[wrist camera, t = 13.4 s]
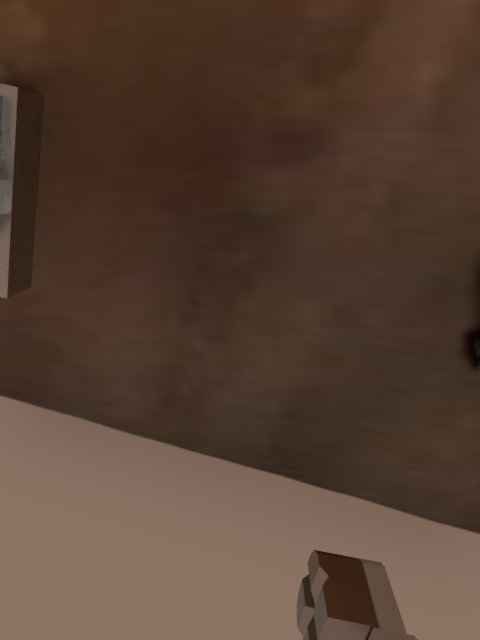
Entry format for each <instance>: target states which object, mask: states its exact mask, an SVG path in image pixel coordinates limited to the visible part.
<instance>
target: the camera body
mask: <svg viewBox="0 0 480 640" xmlns="http://www.w3.org/2000/svg"><path fill="white" fill-rule="evenodd" d="M42 110H43V96H40V95H38V94H35V93H32V92H29V91H27V90H24V89H21V88H18V87H14V86H10V85H5V84H1V83H0V297H2V298H9V297H11V296H13V295H15V294H17V293H19V292H21V291H23V290H25V289H27V288H29V287H31V274H32V259H33V244H34V229H35V214H36V199H37V184H38V170H39V155H40V140H41V125H42Z"/></svg>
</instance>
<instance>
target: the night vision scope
mask: <svg viewBox="0 0 480 640" xmlns="http://www.w3.org/2000/svg"><path fill="white" fill-rule="evenodd" d="M475 350H476V355H477V359H478V360H477V361H476V363H475V365H476V367H477V368H476V369H477V370H480V340H478V339H477V338H476V339H475Z"/></svg>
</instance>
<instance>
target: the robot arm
mask: <svg viewBox="0 0 480 640" xmlns="http://www.w3.org/2000/svg"><path fill="white" fill-rule="evenodd" d="M308 570H309V575H307V576H306V577H304V578H303V579H302V582H301V585H300V589H299V593H298V601H297V626H298V629H299V631H300V632H301V634H302V635H303V637H304V638H303V640H417V639H416V638H415V636H412V635H408V634H407V633H406V630H405V627H404V624H403V621H402V618H401V615H400V612H399V609H398V606H397V603H396V600H395V597H394V594H393V591H392V588H391V585H390V582H389V579H388V576H387V572H386V570H385V567H384V565H383V564H382V563H381V562H376V561H370V560H365V559H360V558H359V559H357V558H353V557H348V556H343V555H337V554H332V553H327V552H322V551H316V550H314V551H313V552H312V553H311V555H310V558H309V561H308Z"/></svg>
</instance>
